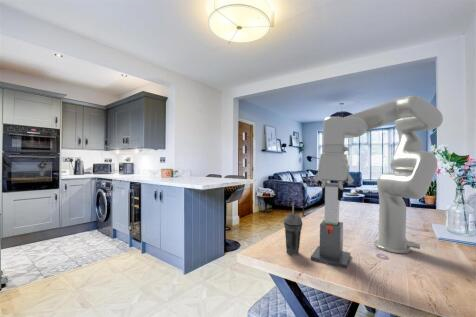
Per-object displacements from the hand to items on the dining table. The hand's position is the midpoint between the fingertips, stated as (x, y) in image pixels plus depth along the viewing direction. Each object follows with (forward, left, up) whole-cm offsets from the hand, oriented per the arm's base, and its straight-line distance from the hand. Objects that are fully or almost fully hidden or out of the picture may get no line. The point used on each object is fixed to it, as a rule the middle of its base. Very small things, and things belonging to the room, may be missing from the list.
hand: (332, 198), depth 87 cm
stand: (0, 0, -22) cm, 22 cm away
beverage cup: (+14, +3, -23) cm, 27 cm away
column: (0, 0, -15) cm, 15 cm away
